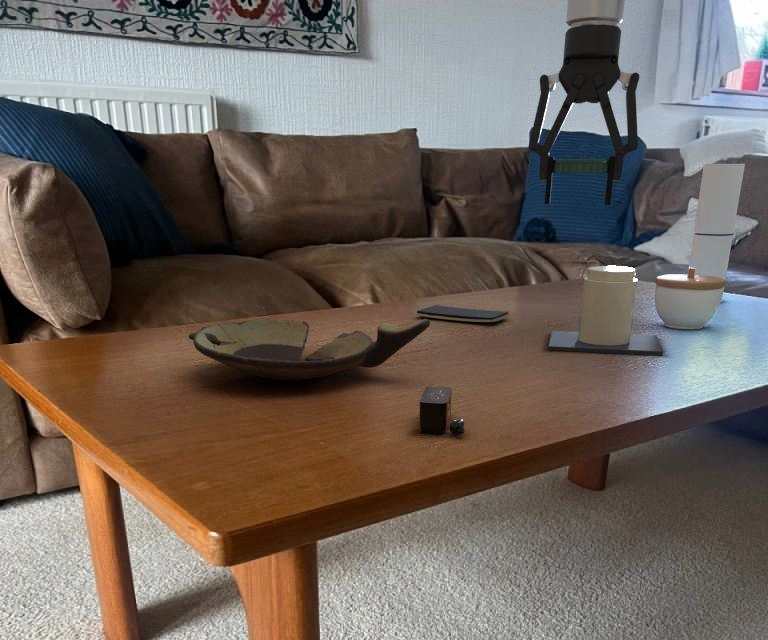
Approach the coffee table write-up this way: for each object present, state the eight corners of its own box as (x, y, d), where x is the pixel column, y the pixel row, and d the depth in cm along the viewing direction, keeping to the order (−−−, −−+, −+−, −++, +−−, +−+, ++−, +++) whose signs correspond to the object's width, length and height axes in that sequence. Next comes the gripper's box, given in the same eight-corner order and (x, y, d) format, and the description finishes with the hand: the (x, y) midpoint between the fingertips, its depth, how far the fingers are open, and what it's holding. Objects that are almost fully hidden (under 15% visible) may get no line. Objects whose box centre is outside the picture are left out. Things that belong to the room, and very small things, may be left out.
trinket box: (655, 318, 138) (662, 263, 134) (720, 323, 133) (729, 266, 130) (645, 329, 129) (652, 270, 125) (714, 334, 125) (724, 273, 121)
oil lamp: (270, 347, 116) (267, 295, 113) (447, 374, 101) (448, 313, 98) (154, 379, 99) (147, 318, 96) (346, 416, 84) (344, 345, 81)
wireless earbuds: (417, 436, 78) (417, 404, 77) (425, 415, 84) (426, 386, 83) (463, 438, 77) (465, 406, 76) (468, 417, 84) (470, 387, 82)
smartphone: (434, 305, 144) (510, 311, 137) (434, 311, 145) (509, 318, 137) (415, 310, 138) (492, 318, 131) (415, 317, 139) (492, 325, 132)
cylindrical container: (679, 301, 155) (699, 163, 145) (689, 296, 161) (709, 163, 151) (716, 304, 152) (740, 163, 142) (725, 299, 157) (748, 163, 147)
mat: (656, 339, 121) (656, 335, 121) (662, 355, 111) (663, 351, 111) (551, 334, 125) (551, 330, 125) (548, 350, 114) (548, 346, 114)
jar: (628, 336, 120) (637, 266, 116) (631, 346, 113) (640, 272, 109) (578, 334, 122) (584, 265, 118) (577, 344, 115) (584, 271, 111)
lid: (551, 173, 112) (552, 159, 111) (552, 172, 119) (553, 159, 119) (609, 173, 110) (611, 159, 110) (608, 172, 118) (609, 159, 117)
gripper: (670, 28, 109) (647, 203, 118) (518, 33, 113) (508, 202, 122) (676, 19, 102) (652, 206, 111) (515, 25, 106) (504, 204, 115)
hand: (577, 204), depth 117 cm, fingers closed on lid, 8 cm apart
